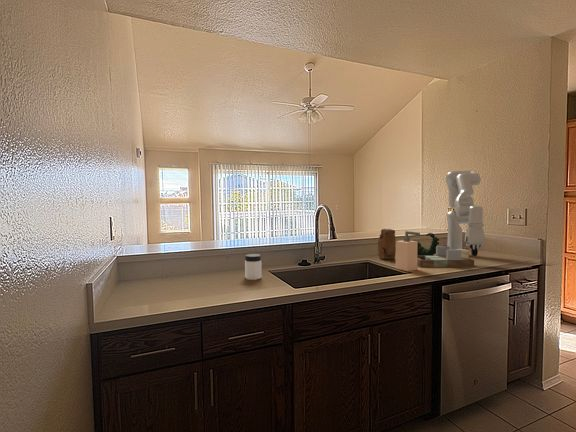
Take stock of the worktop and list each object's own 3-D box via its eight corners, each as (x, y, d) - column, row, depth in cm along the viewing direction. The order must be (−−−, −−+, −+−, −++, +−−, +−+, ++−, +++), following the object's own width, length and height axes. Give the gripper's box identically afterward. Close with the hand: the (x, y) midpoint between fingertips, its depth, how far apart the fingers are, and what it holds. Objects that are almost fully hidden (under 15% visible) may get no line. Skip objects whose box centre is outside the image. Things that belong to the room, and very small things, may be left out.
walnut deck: (410, 261, 207) (410, 255, 207) (460, 261, 207) (460, 255, 207) (419, 266, 192) (419, 260, 192) (474, 266, 192) (474, 259, 192)
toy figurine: (439, 261, 214) (408, 253, 235) (442, 234, 212) (410, 227, 233) (431, 263, 209) (399, 254, 230) (434, 235, 207) (402, 228, 228)
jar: (254, 275, 174) (253, 253, 174) (264, 277, 169) (264, 254, 168) (241, 278, 167) (241, 255, 167) (252, 280, 162) (252, 257, 161)
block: (389, 257, 223) (389, 228, 222) (396, 259, 216) (397, 229, 215) (376, 258, 220) (376, 229, 218) (383, 260, 213) (383, 230, 211)
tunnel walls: (435, 255, 207) (436, 246, 206) (448, 255, 207) (448, 246, 206) (447, 260, 192) (447, 250, 191) (460, 260, 192) (461, 250, 191)
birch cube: (456, 256, 202) (456, 248, 201) (464, 256, 202) (464, 248, 201) (460, 258, 197) (460, 250, 196) (468, 258, 197) (469, 250, 196)
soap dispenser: (395, 268, 188) (395, 231, 187) (404, 266, 193) (405, 230, 191) (413, 272, 177) (414, 233, 176) (423, 270, 182) (424, 232, 181)
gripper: (483, 225, 202) (482, 254, 203) (459, 225, 202) (459, 254, 203) (491, 226, 194) (490, 256, 195) (466, 226, 194) (465, 256, 195)
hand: (474, 255), depth 199 cm, fingers closed
